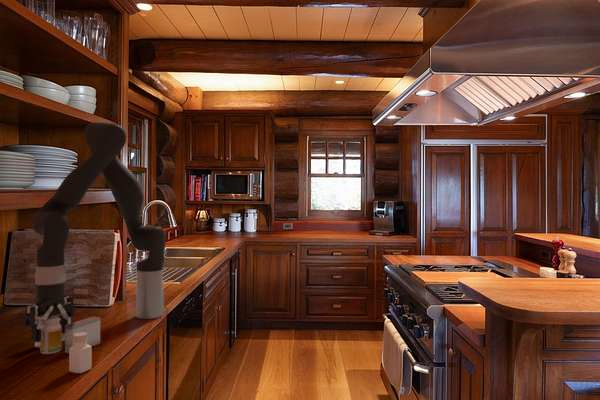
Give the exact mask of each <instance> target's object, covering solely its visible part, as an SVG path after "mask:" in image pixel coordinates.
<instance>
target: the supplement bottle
mask: <svg viewBox="0 0 600 400" xmlns="http://www.w3.org/2000/svg"><path fill="white" fill-rule="evenodd" d="M58 322H59V317H58V316H52V317H49V318H47V319H46V321H45V322H43V324H44V325H43V326H42V327H41V341H40V348H39V350H40V351H39V352H40V353H41V354H43V355H52V354H56V353H59V352H60V351H62V347H63V346H62V344H63V343H62V342H63V341H62V326H61V325H60V324H58Z"/></svg>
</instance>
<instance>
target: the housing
mask: <svg viewBox="0 0 600 400" xmlns="http://www.w3.org/2000/svg"><path fill="white" fill-rule="evenodd" d="M56 316H57V315H56ZM71 318H72V316H71V317H70V318H69V319H68V324H67V325H65V333H62V342H64V353H65V354H69V349H70V348H71V347H73V346H74V334H76V333H80V332H86V333H87V345H90V346H91V348H92V347H95V346H98V345H99V344H101V317H98V316H90V317H87V318H84V319H81V320H77V321H74V322H72V319H71ZM59 320H61V319H60V318H59ZM58 324H59V322H58ZM43 325H44V324H42V325H41V327H42V326H43ZM41 327H40V329H41ZM34 347H35V348H39V349H40V342H34Z"/></svg>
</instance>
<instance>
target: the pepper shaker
mask: <svg viewBox="0 0 600 400" xmlns="http://www.w3.org/2000/svg"><path fill="white" fill-rule="evenodd" d="M68 355H69V356H68V366H69V367H68V370H69V372H70V373H74V374H79V373H80V374H83V373H85V372H87V371H89V370H91V369H92V347H91V346H90V345H87V333H86V332H80V333H76V334H74V346H73V347H71V348H70V349H69V353H68Z"/></svg>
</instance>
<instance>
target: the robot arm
mask: <svg viewBox="0 0 600 400" xmlns="http://www.w3.org/2000/svg"><path fill="white" fill-rule="evenodd" d="M84 140H85V143H86V145H87V147H88V149H89V150H90V152H91V155H90V156H89V157H88V158H87V159H85V160H84V161H83V162H82V163H81V164H79V165H78V166H77V167H75V168H74V169H73V170H72V171H71V172H69V173H68V175H66V177H65V178H64V179H63V181H62V182H61V183H60V185H59V186H58V188H57V189H56V191H55V193H54V194H53V196H51V197H50V199H48V200H47V201H46V202H45V203H44V204H43V205H42V207H40V208H39V209H38V211H37V212H36V214H35V215H34V217H33V219H32V229H33V230H34V231H35V233H37V234H39V235H42V236H43V238H42V239H43V240H42V244H41V245H40V246H38V247H37V248H36V249H37V250H36V264H35V265H36V268H35V275H34V276H35V279H34V280H35V283H34V285H35V288H34V289H35V293H34V294H35V300H36V304H35V305H26V306H25V308H24V309H25V310H24V325H23V327H24V328H25V329H31V340H32V341H33V342H34V343H35V342H40V341H41V329H40V327H41V325H42V324H43V322H45V321H46V319H47V318H49V317H52V316H56V315H57V316H58V317H59V318H60V319H61V320H59V324H60V325H61V326H62V333H65V325H67V324H68V319H69V318H70V317H71V318H72V317H74V316H75V306H74V305H75V303H74V297H73V296H68V295H66V267H65V248H66V245H67V242H68V238H69V232H70V223H69V218H68V217H67V216H66V214H67V213H69V212H70V211H72V210H75V209H76V208H77V207H78V206H79V204H80V203H81V202H82V200H83V198H84V197H85V195H86V193H87V192H88V191H89V189H90V187H91V185H93V183H94V182H95V181H96V179H97V178H98V177H99V176H100V175H101V174H103V176H104V178H105V180H106V182H107V184H108V186H109V189H110V191H111V194H112V196H113V198H114V200H115V203H116V204H117V207H118V208H119V211H120V214H121V216H122V218H123V222H124V223H125V226H126V230H127V232H128V236H129V238H130V242H131V243H132V244H131V245H132V246H133V248H134V249H136V251H141V252H148V257H146V259H142V260H140V261H138V262H137V263H136V299H135V301H136V309H135V310H136V311H135V312H136V318H137V319H141V320H152V319H153V320H154V319H159V318H160V317H162V316H163V314H165V288H164V285H163V284H164V282H163V281H164V277H163V276H164V271H163V268H164V262H165V255H166V254H165V252H166V251H165V250H166V233H165V230H164V228H163V227H161V226H151V225H149V226H148V225H144V223H143V221H142V219H141V215H140V214H141V210H142V207H143V205H144V204H143V203H144V197H145V196H144V193H143V189H142V188H141V184H140V183H139V180H138V178H137V176H135V174H134V173H133V172H132V171H131V170H130V169H129V168H128V167H127V166H126V165H125V164H124V163H123V162H122V161H121V159H120V158H119V156H118V154H120V152H121V151H122V149H123V148H124V147H125V145H126V143H127V134H126V131H125V129H124V128H123V127H122V126H121V125H120V124H116V123H110V122H100V121H99V122H97V121H95V122H92V123H89V124H88V125H87V126H86V128H85V131H84ZM63 306H64V307H63Z"/></svg>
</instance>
